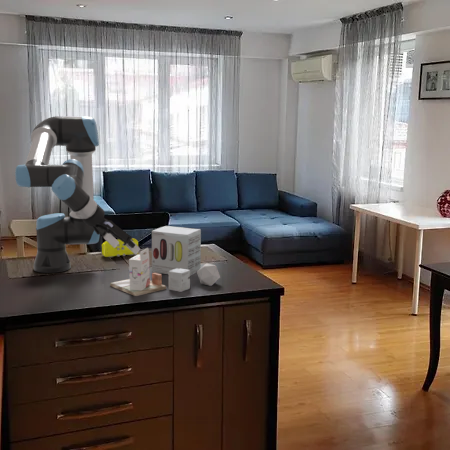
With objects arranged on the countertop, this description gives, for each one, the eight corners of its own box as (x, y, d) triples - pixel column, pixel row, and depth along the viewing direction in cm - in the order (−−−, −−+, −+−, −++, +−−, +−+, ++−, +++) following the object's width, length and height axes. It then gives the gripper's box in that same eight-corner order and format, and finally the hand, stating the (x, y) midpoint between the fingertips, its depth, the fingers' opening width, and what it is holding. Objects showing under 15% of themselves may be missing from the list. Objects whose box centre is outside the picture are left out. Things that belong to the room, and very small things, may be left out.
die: (224, 285, 231) (218, 263, 235) (217, 279, 223) (212, 257, 227) (204, 291, 232) (199, 269, 236) (197, 286, 225) (192, 263, 228)
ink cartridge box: (137, 283, 224) (137, 246, 221) (150, 284, 223) (149, 247, 220) (128, 290, 216) (128, 251, 213) (141, 291, 215) (141, 252, 212)
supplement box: (150, 272, 245) (150, 230, 242) (165, 265, 258) (165, 225, 254) (188, 277, 239) (188, 234, 236) (201, 270, 251) (201, 228, 248)
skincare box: (181, 292, 219) (181, 273, 218) (168, 289, 222) (168, 270, 221) (190, 288, 224) (190, 269, 223) (177, 285, 227) (177, 267, 226)
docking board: (110, 285, 226) (110, 272, 225) (140, 279, 235) (140, 267, 234) (135, 296, 213) (135, 282, 212) (166, 289, 223) (166, 275, 222)
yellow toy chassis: (105, 258, 269) (105, 241, 267) (101, 256, 274) (101, 238, 272) (138, 255, 276) (138, 238, 275) (134, 252, 281) (134, 235, 280)
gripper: (64, 215, 207) (102, 250, 220) (102, 225, 189) (140, 263, 202) (77, 198, 210) (114, 234, 223) (115, 207, 192) (153, 246, 205)
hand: (127, 248), depth 212 cm, fingers open, 13 cm apart
